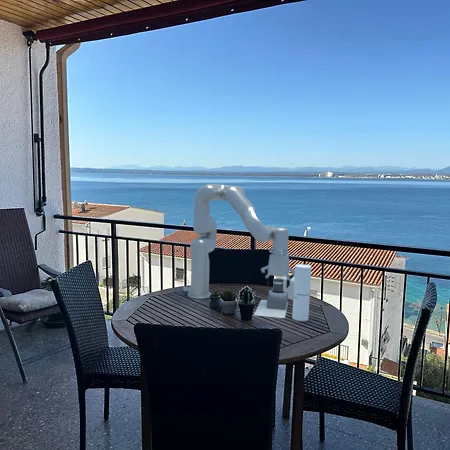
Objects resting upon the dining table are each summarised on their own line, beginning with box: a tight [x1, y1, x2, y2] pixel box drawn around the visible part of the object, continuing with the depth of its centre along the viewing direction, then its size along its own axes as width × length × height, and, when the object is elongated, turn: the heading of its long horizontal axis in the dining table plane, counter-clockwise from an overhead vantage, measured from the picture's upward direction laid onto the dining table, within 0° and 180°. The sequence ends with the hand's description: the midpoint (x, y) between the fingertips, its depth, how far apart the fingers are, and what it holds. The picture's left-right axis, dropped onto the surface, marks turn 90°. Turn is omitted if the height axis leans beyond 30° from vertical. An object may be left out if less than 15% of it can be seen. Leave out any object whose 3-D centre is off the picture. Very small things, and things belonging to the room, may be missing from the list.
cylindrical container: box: [291, 263, 312, 322], centre depth 191 cm, size 7×7×25 cm
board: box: [253, 299, 289, 319], centre depth 205 cm, size 14×26×1 cm, turn 168°
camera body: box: [266, 288, 289, 311], centre depth 210 cm, size 9×14×7 cm, turn 168°
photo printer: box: [281, 276, 295, 301], centre depth 225 cm, size 10×4×12 cm, turn 39°
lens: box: [272, 278, 284, 293], centre depth 210 cm, size 5×5×8 cm
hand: (277, 286), depth 210 cm, fingers open, 9 cm apart
